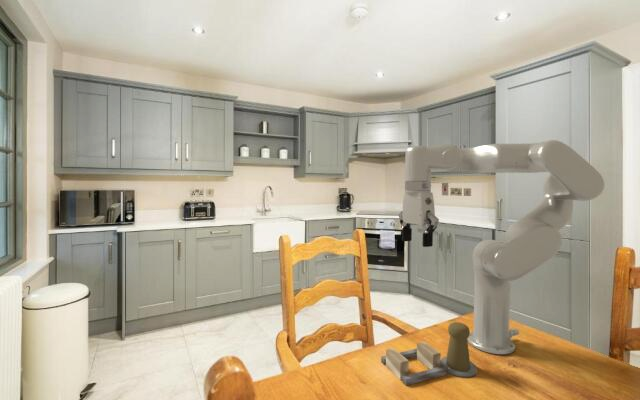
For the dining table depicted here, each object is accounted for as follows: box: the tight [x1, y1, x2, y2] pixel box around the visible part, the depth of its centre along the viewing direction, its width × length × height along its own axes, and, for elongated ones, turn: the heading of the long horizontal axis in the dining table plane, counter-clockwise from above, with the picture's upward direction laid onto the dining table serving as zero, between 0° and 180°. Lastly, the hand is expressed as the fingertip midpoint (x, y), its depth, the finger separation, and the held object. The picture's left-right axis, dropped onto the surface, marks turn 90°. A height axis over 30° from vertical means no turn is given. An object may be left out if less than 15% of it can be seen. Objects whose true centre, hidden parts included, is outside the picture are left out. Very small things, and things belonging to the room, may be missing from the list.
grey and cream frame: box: [380, 341, 448, 386], centre depth 84 cm, size 12×11×4 cm
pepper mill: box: [446, 321, 471, 372], centre depth 84 cm, size 6×6×11 cm
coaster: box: [440, 355, 478, 378], centre depth 84 cm, size 9×9×1 cm
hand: (416, 243), depth 97 cm, fingers open, 9 cm apart
